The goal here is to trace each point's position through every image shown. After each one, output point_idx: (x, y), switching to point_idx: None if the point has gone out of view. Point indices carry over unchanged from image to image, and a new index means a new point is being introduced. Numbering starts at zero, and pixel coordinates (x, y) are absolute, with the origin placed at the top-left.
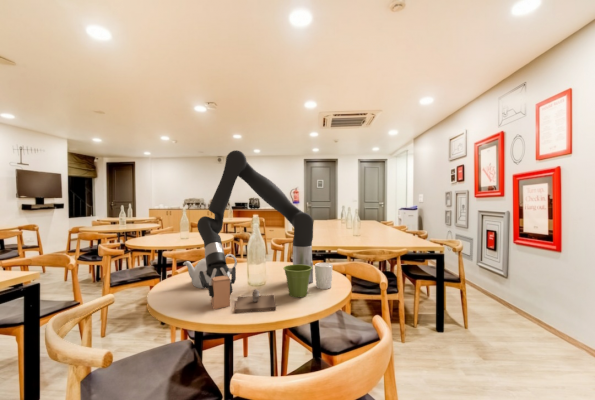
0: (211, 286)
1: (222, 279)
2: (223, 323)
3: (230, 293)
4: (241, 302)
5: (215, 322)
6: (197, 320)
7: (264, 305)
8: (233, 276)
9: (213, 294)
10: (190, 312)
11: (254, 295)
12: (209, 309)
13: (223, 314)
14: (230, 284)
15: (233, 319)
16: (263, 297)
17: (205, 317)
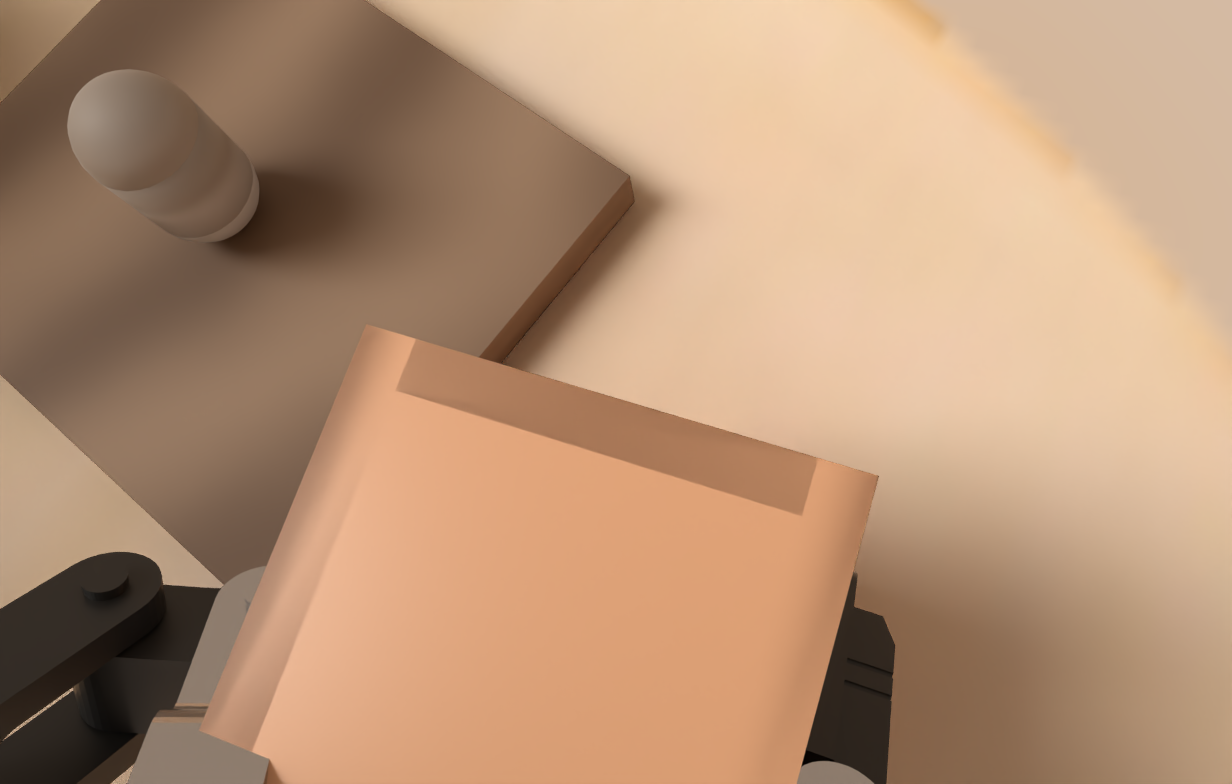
0: (823, 735)
1: (571, 431)
2: (922, 35)
3: None
4: None
5: (994, 125)
6: (1186, 355)
7: (257, 19)
8: (28, 658)
9: None
10: (1185, 754)
11: (210, 124)
12: None
13: (783, 273)
14: None
15: (763, 49)
16: (32, 269)
17: (1044, 367)
